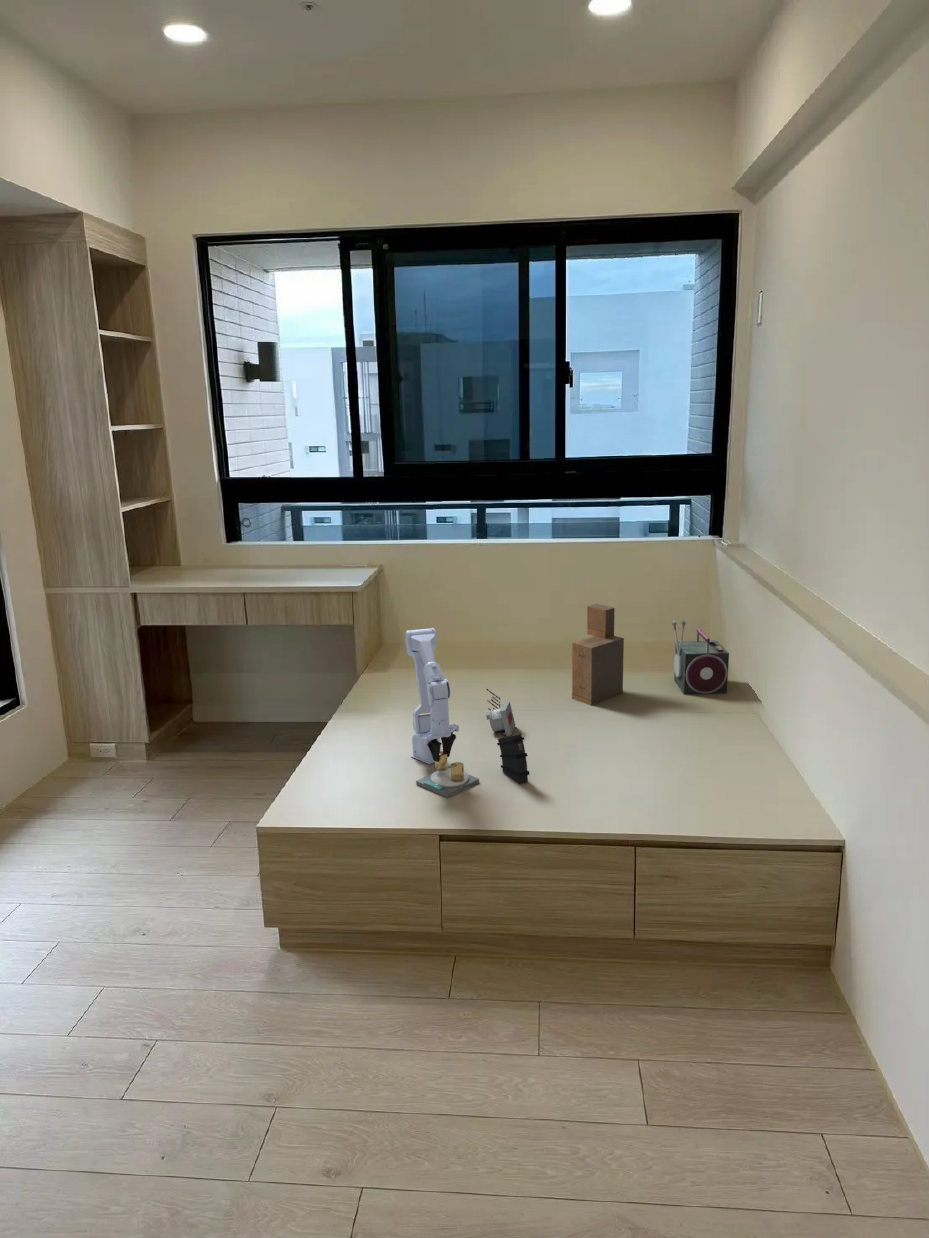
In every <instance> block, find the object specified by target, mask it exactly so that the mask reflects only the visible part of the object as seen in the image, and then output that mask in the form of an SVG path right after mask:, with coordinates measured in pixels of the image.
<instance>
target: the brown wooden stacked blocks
mask: <svg viewBox="0 0 929 1238" xmlns="http://www.w3.org/2000/svg"><path fill="white" fill-rule="evenodd" d="M586 608H587V611H586V612H587V613H586V616H587V617H586V618H587V619H586V629H587V630H586V634H587V635H588V636H590V637H588V638H584V639H581V640H577V641H574V642H572V643H571V644H572V646H571V647H572V649H571V650H572V656H571V657H572V659H571V661H572V664H571V665H572V667H571V670H572V672H571V675H572V676H571V677H572V678H571V681H572V682H571V684H572V685H571V690H572V691H571V692H572V693H571V700H575V701H577V702H580V703H583V704H586V705H588V706H593V705H596V704H598V703H601V702H604V701H607V700H610V699H612V698H614V697H618V696H619V695H620V696H621V695H623V694H624V651H625V650H624V649H625V648H624V645H625V642H624V640H625V639H624V637H621V636H616V635H615V607H613V606H608V605H604V604H599V603H595V604H590V605H587V606H586Z"/></svg>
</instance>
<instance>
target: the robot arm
mask: <svg viewBox="0 0 929 1238" xmlns="http://www.w3.org/2000/svg"><path fill="white" fill-rule="evenodd" d="M404 636H405V637H404V638H405V647H406V648H405V649H406V653H407V655H408V656H410V657H412V659H413V661H414V668H415V669H414V670H415V675H416V677H415V678H416V683H417V685H416V686H417V692H418V693H417V694H418V701H419V705H418V706H417V707H416V708H415V709H414V710H413V712H412V727H413V731H414V733H413V734H412V738H411V741H412V754H411V755H410V756H411V758H413V759H416V760H419V761H420V762H422V763H425V764H428V765H432V764H435V761H436V762H438V761H439V759H440V751H444V752H447V758H449V757H450V755H451V752H452V751H451V750H452V748H453V744H454V742H455V740H456V739H457V734H454V732H459V731H460V724H457V723H453V724H450V716H449V715H450V714H449V711H450V710H449V709H450V708H449V699H450V698H451V687H450V683H449V680H448V679H447V678H446V677H445V675H444V673H443V669H442V665H441V664H439V663H438V662H437V661H436V655H435V650H436V647H437V644H438V635H437V630H436V628H434V627H430V628H421V629H411V630H410V629H408V630H406V632H405V635H404ZM441 747H442V749H441Z"/></svg>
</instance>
